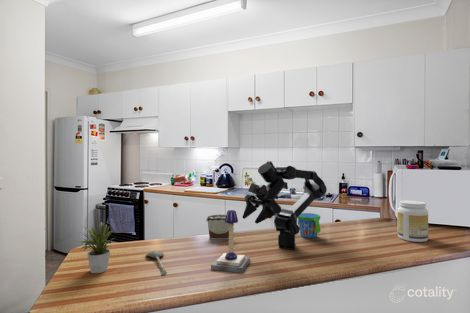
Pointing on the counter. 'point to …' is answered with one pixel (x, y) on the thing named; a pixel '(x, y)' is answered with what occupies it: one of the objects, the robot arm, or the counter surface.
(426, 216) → the supplement tub
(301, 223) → the snack cup
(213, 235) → the food container
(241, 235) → the counter surface
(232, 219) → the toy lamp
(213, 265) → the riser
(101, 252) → the house plant
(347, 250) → the counter surface
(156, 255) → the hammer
